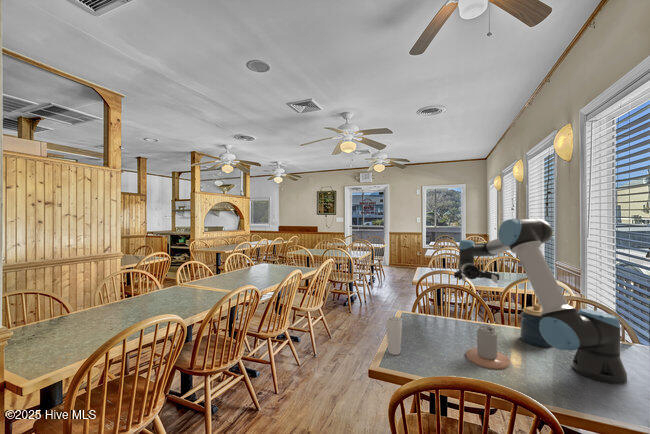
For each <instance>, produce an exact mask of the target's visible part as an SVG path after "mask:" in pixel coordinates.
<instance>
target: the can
mask: <svg viewBox="0 0 650 434" xmlns="http://www.w3.org/2000/svg"><path fill="white" fill-rule="evenodd" d="M476 348H477V354H478V355H479V356H480V357H481V358H484V359H487V360H494V359H495V358H497V352H498V333H497V331H496V329H495V328H494V327H492V326H489V325H479V326H478V329H477V330H476Z"/></svg>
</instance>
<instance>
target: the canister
mask: <svg viewBox="0 0 650 434" xmlns="http://www.w3.org/2000/svg"><path fill="white" fill-rule="evenodd" d="M521 311H522V312H521V313H520V314H519V315H520V317H521V319H520V339H521V340H522V341H523V342H524V343H526V344H528V345H532V346H535V347H540V348H541V347H542V348H550V347H551V348H552V346H551V345H550V344H548V343H547V342H546V341H545V339H544V338H543V337H542V335H541V333H540V330H539V326H540V324H539V323H540V321H541V320H542V318H541V316H540V314H541V312H542V307H541V305H540V304H536V303H535V304H533V306H527V307H525V308H522V310H521Z"/></svg>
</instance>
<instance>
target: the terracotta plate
mask: <svg viewBox="0 0 650 434" xmlns="http://www.w3.org/2000/svg"><path fill="white" fill-rule="evenodd" d="M465 355H466V356H465V357H466V359H467V360H468V361H470V362H471V363H472V364H474V365H477V366H480V367H483V368H487V369H492V370H503V369H507V368H509V367H510V364H511V360H510V358H509V357H507V355H505V354H503V353H501V352H499V351H497V358H495V359H494V360H487V359H484V358H481V357H480V356H479V355H478V354H477V347H475V348H474V347H472V348H469V349H467V350H466V353H465Z"/></svg>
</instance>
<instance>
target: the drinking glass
mask: <svg viewBox="0 0 650 434" xmlns="http://www.w3.org/2000/svg"><path fill="white" fill-rule="evenodd" d="M402 320H403V319H402V318H401V317H398V316H391V315H390V316H388V317H386V320H385V321H386V322H385V324H386V325H385V328H386V339H387V352H388V353H389V354H390V355H392V356H397V355H400V354H401V351H402V350H401V348H402V347H401V346H402V345H401V344H402V333H403V321H402Z"/></svg>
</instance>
